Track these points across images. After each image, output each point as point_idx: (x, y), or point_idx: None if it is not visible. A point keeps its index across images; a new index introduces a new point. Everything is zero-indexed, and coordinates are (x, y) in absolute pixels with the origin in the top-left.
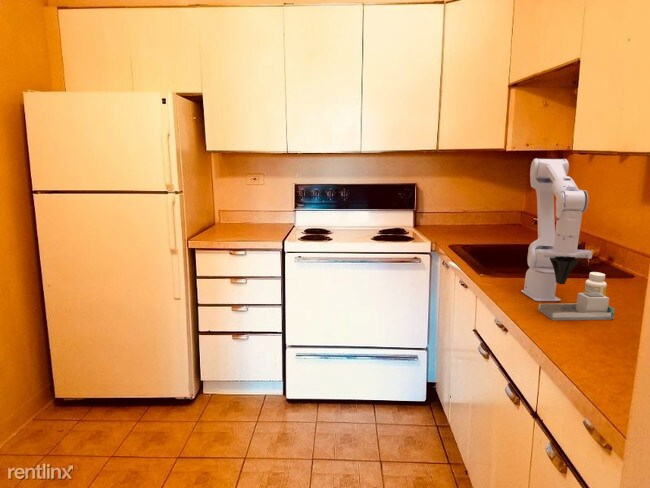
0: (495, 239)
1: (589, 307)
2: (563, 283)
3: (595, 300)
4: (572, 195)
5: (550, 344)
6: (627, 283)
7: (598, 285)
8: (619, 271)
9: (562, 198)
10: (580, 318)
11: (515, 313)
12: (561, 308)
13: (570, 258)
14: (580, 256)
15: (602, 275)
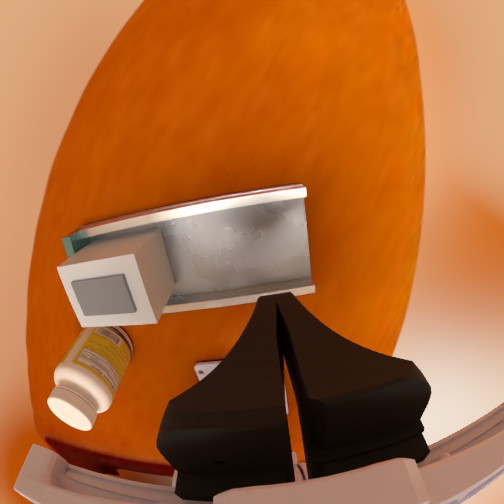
0: None
1: (139, 240)
2: (269, 296)
3: (107, 254)
4: None
5: (379, 7)
6: (48, 424)
7: (75, 369)
8: (63, 455)
9: None
10: (188, 202)
11: (399, 239)
12: (225, 288)
13: (237, 480)
14: (114, 489)
15: (53, 399)
